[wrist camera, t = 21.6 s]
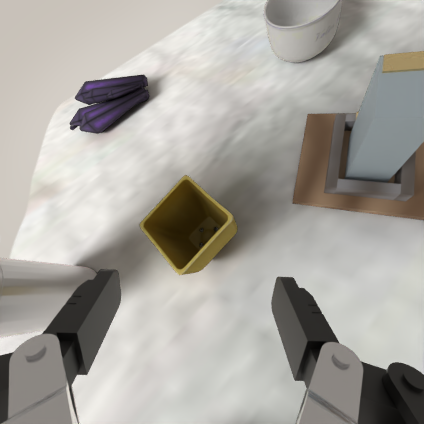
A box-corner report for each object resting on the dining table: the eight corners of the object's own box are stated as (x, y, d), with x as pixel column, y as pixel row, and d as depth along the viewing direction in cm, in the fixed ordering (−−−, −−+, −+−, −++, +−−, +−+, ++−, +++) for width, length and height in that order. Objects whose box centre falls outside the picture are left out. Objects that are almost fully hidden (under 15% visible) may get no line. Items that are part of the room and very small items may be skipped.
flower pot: (171, 238, 36) (136, 224, 28) (209, 198, 36) (185, 172, 28) (207, 280, 32) (179, 277, 24) (249, 234, 32) (235, 217, 24)
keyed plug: (344, 180, 29) (375, 116, 18) (349, 137, 31) (380, 53, 20) (385, 183, 28) (447, 115, 17) (389, 137, 29) (447, 47, 18)
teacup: (325, 74, 36) (333, 21, 29) (260, 72, 41) (253, 26, 33) (346, 8, 39) (359, -55, 32) (283, 14, 43) (281, -41, 36)
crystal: (135, 50, 44) (49, 85, 47) (142, 97, 41) (49, 131, 44) (152, 79, 51) (75, 108, 54) (159, 121, 48) (77, 150, 51)
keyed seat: (292, 203, 32) (292, 194, 29) (307, 118, 35) (308, 102, 32) (440, 222, 26) (460, 213, 23) (442, 117, 29) (459, 98, 26)
